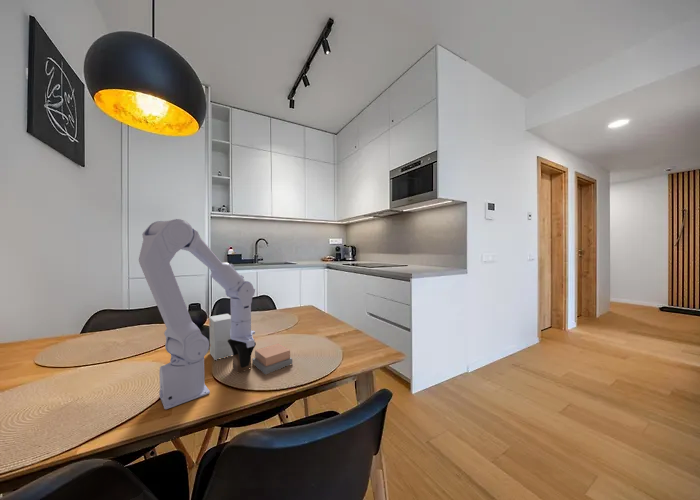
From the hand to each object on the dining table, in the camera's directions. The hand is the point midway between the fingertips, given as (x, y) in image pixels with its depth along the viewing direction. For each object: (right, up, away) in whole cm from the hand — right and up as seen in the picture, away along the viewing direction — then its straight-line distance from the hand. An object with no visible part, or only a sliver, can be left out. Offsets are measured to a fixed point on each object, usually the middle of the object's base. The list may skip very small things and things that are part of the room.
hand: (241, 363), depth 79 cm
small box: (-11, -2, +10) cm, 15 cm away
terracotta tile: (+8, 0, +3) cm, 9 cm away
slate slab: (+9, -2, +3) cm, 9 cm away
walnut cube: (0, -2, 0) cm, 2 cm away
